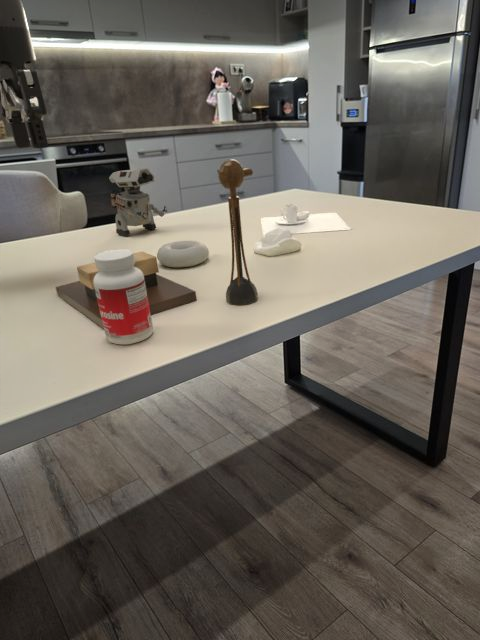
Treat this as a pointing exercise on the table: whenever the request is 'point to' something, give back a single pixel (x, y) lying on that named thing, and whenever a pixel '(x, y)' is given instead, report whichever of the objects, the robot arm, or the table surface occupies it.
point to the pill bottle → (122, 297)
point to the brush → (142, 262)
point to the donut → (182, 254)
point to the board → (158, 296)
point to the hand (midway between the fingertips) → (31, 147)
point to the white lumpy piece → (277, 243)
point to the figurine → (133, 200)
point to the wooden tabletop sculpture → (237, 234)
